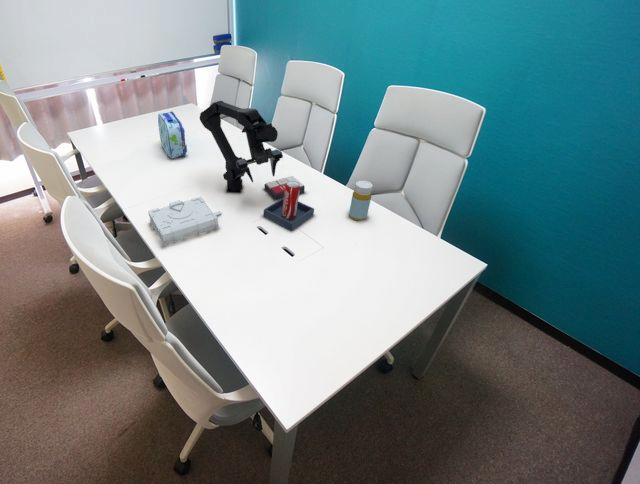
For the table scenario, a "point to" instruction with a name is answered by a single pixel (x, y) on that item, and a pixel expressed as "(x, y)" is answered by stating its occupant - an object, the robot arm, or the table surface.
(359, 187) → the bottle
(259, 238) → the table surface
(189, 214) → the grey case
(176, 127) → the lunch box
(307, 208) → the tray
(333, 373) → the table surface
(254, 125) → the robot arm
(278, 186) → the calculator
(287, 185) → the beverage can
